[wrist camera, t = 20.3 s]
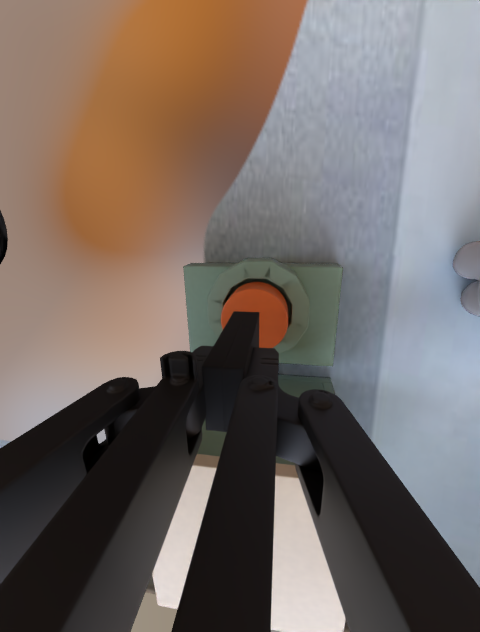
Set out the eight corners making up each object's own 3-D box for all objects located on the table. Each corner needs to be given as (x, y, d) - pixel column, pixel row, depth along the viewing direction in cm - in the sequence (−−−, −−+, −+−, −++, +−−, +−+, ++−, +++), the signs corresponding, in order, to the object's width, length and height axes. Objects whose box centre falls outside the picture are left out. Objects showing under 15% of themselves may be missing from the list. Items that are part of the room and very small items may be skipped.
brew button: (228, 337, 21) (221, 350, 18) (226, 280, 19) (219, 287, 17) (286, 340, 20) (286, 354, 18) (289, 281, 19) (289, 289, 16)
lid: (138, 446, 16) (130, 457, 15) (365, 472, 14) (369, 487, 13) (162, 591, 20) (157, 605, 19) (339, 627, 18) (341, 644, 17)
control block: (197, 348, 25) (182, 369, 22) (190, 255, 23) (172, 260, 19) (329, 355, 24) (337, 379, 20) (338, 255, 21) (350, 261, 17)
